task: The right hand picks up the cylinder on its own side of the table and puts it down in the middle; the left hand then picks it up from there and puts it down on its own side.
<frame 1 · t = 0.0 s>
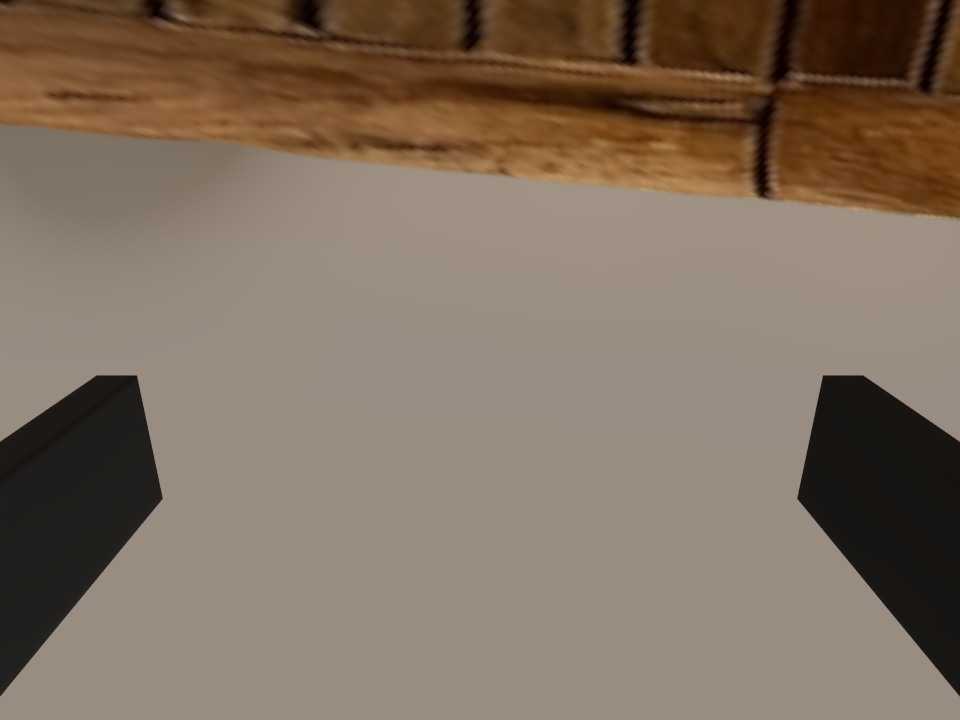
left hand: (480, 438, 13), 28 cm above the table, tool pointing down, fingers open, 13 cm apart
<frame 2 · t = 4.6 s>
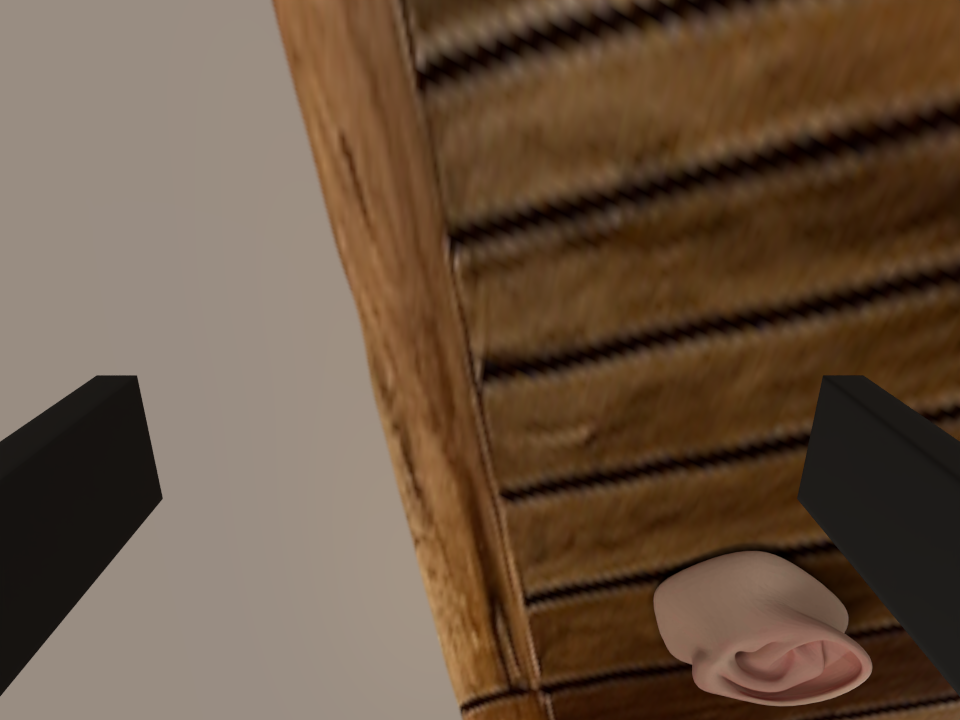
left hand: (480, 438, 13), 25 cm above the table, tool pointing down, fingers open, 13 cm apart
anatomical model: (744, 615, 45), on the table
when the right hand's fingers open (4 cm above the table, at t = 11.9 s): cylinder drops 2 cm, on the table.
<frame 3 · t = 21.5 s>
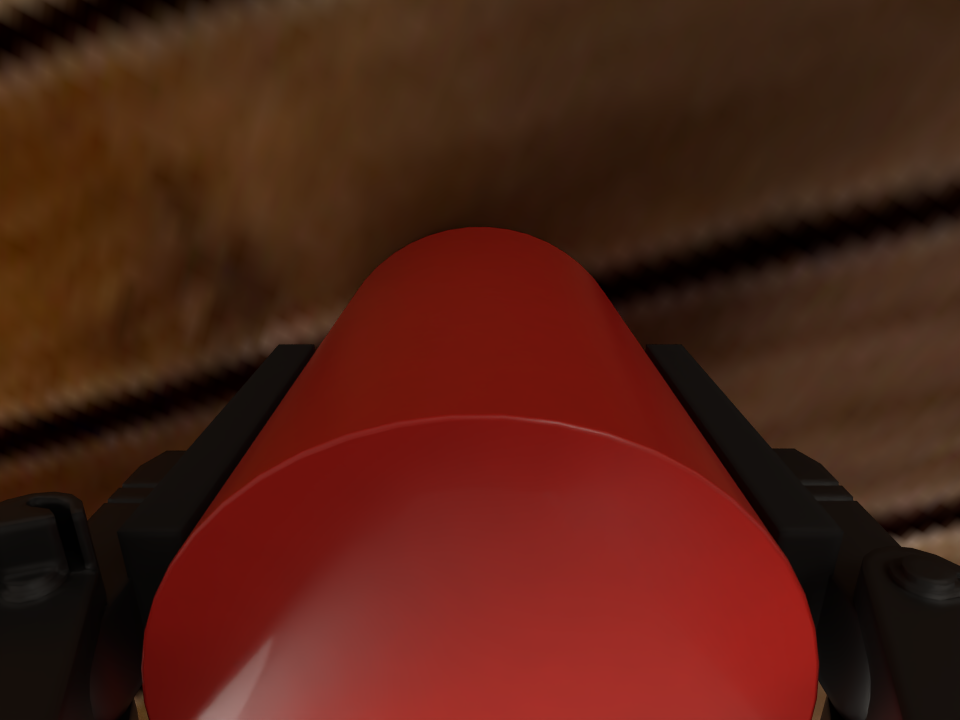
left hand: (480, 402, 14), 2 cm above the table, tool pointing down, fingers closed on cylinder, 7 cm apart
cylinder: (480, 370, 16), on the table, touching left hand
when the left hand's fingers open (4 cm above the table, at t = 28.7 s): cylinder drops 2 cm, on the table.
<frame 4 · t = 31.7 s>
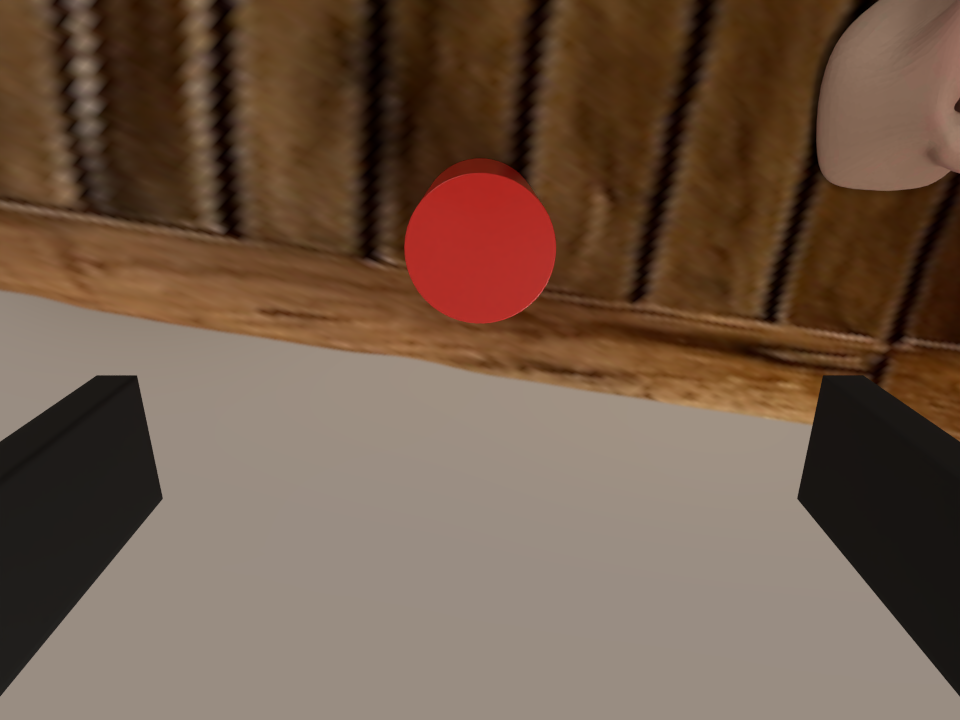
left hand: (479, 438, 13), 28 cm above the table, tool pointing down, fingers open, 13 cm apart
anatomical model: (925, 80, 36), on the table
cylinder: (480, 219, 39), on the table
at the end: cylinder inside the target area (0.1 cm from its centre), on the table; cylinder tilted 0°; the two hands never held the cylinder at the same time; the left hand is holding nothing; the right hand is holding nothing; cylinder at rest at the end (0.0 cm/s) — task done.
